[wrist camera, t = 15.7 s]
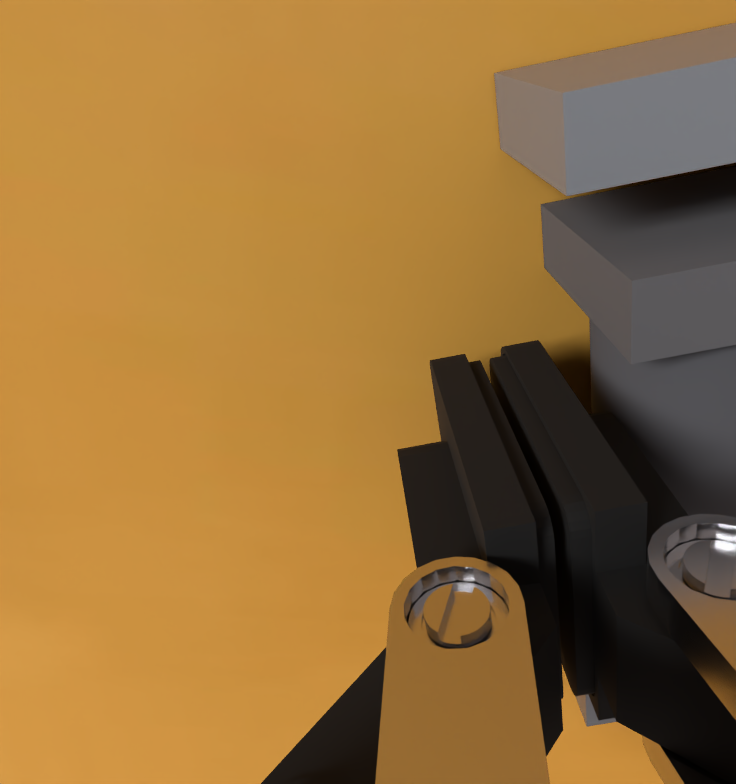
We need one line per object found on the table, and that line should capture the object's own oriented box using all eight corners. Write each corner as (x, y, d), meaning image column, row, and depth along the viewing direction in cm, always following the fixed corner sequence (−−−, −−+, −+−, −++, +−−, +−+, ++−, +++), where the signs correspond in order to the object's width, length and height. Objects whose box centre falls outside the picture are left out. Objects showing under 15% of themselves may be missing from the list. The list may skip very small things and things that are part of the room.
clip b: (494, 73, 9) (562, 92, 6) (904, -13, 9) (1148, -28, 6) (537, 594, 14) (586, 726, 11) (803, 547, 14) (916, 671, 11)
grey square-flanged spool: (540, 204, 10) (631, 280, 7) (769, 159, 10) (960, 217, 7) (557, 520, 13) (627, 667, 10) (733, 489, 13) (856, 629, 10)
